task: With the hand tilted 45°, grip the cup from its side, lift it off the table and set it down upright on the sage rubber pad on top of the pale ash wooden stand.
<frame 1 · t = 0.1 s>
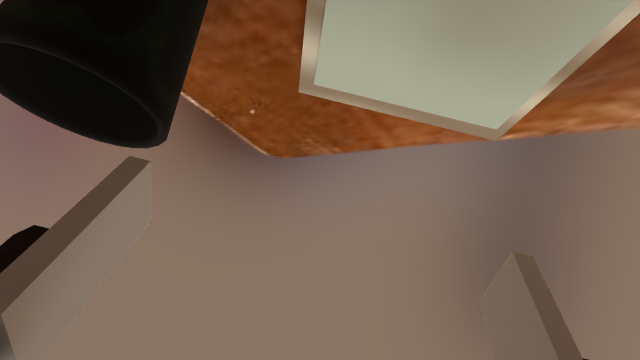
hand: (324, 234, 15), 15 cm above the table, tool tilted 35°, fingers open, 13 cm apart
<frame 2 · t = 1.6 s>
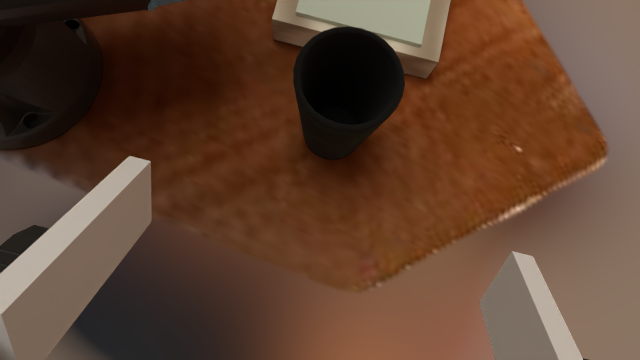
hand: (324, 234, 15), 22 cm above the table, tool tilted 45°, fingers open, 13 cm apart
stand: (364, 0, 42), on the table
cup: (331, 132, 39), on the table
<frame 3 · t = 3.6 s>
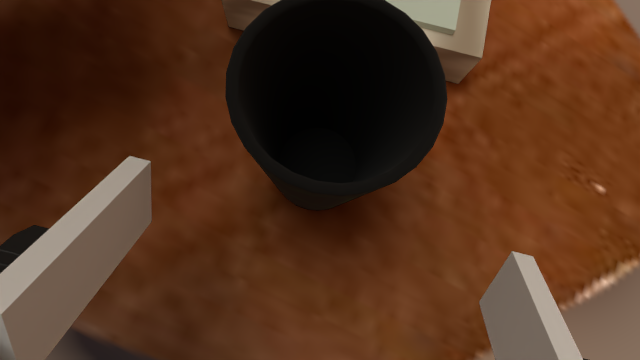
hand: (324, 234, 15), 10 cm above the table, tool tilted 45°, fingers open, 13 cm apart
cup: (316, 167, 26), on the table
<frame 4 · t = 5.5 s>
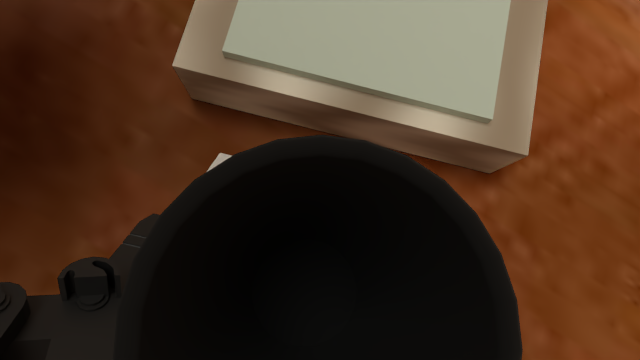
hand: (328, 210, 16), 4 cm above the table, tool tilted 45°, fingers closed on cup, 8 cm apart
stand: (369, 20, 22), on the table
cup: (304, 290, 19), on the table, touching gripper
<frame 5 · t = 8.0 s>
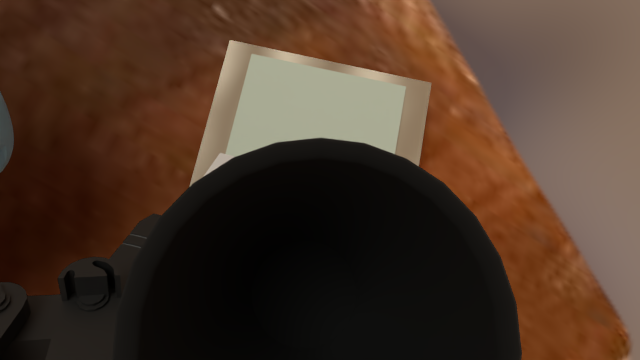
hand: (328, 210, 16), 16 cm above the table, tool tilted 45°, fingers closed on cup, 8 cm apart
stand: (311, 158, 33), on the table
cup: (304, 291, 19), point 12 cm above the table, touching gripper
when the fingers open (10 cm above the table, at t = 10.6 s): cup drops 1 cm, resting on stand.
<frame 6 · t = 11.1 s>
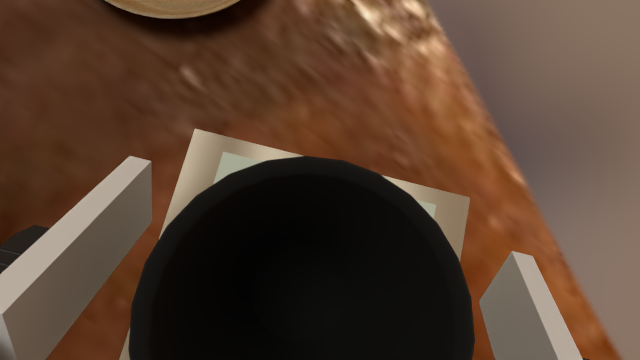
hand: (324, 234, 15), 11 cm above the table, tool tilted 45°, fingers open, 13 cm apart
stand: (301, 285, 24), on the table
cup: (299, 289, 21), point 4 cm above the table, touching stand
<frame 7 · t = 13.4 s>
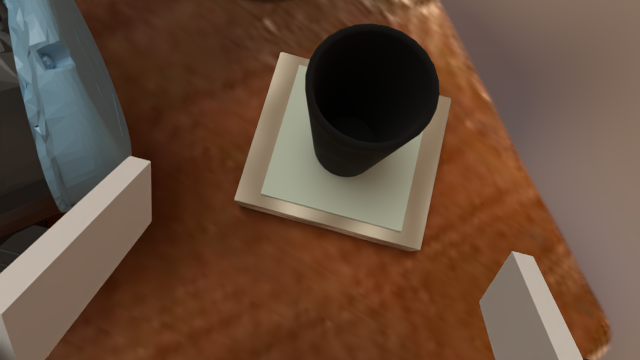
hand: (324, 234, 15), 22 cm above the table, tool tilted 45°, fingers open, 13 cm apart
stand: (342, 157, 38), on the table
cup: (345, 146, 34), point 4 cm above the table, touching stand
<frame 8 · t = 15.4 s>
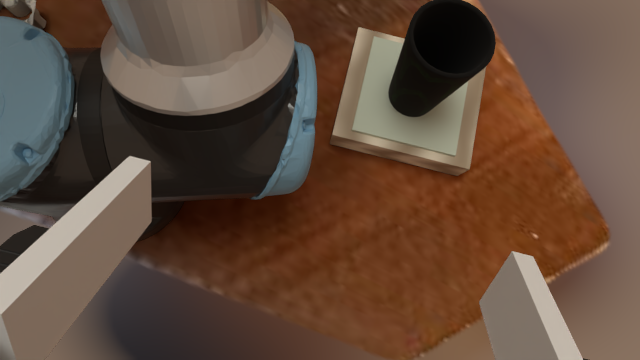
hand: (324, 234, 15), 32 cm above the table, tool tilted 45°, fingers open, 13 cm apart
stand: (404, 107, 50), on the table
cup: (411, 95, 46), point 4 cm above the table, touching stand
egg carton: (13, 47, 49), on the table
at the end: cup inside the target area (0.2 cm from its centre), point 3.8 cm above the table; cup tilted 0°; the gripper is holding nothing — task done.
